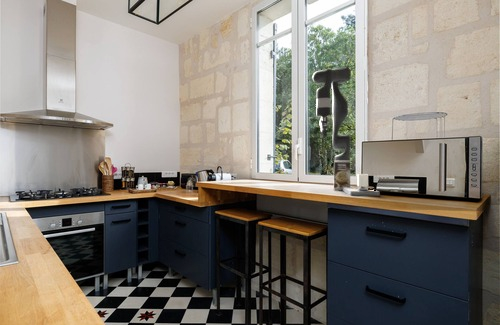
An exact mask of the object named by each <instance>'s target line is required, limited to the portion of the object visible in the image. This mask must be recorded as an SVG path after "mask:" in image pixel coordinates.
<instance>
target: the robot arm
mask: <svg viewBox="0 0 500 325" xmlns="http://www.w3.org/2000/svg"><path fill="white" fill-rule="evenodd" d="M351 76H352V73H351V69H350V68H349V66H340V67H334V68H332V69H330V68H325V69H322V70H317V71H314V73H313V75H312V82H313V83H314V84H315V85H323V86H321V87H319V88H317V89H316V101H315V102H316V104H315V105H316V106H315V107H316V109H315V110H316V114H315V115H316V118H320V119H319V128H320V129H319V130H320V139H326V138H327V137H328V132H327V131H328V128H329V127H328V123H329V119H328V117H331V116H332V140H331V141H332V142H331V143H332V148H333V150H335V151H337V150H338V151H339V150H340V151H342V150H343V151H344V152H342V153H339V154H336V155H335V156H334V162H350V163H351V136H350V135H349V134H342V135H339V131H340V128H341V127H342V125H343V123H344V122H345V120H346V119H347V117H348V113H349V104H348V101H347V99H346V98H345V97H344V95H343V94H342V92H341V90H340V87H339V84H341V83H346V82H349V81H350V80H351ZM331 89H332V102H331ZM331 105H332V106H331ZM331 110H332V111H331Z"/></svg>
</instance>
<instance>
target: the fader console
mask: <svg viewBox="0 0 500 325" xmlns="http://www.w3.org/2000/svg"><path fill="white" fill-rule="evenodd" d="M358 188H359V187H350V188H344V187H343V190H342V191H343V192H344V193H345V194H347V195H349V196H358V197H359V196H363V197H364V196H365V197H367V196H368V197H369V196H370V197H375V196H376V197H379V196H380V191H379V190H376V191H374V190H375V189H373V190H358Z"/></svg>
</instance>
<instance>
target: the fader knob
mask: <svg viewBox="0 0 500 325" xmlns="http://www.w3.org/2000/svg"><path fill="white" fill-rule="evenodd" d="M356 178H357V180H356V182H357V184H356V186H357V188H358V190H368V188H369V174H368V173H357V174H356Z"/></svg>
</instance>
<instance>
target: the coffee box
mask: <svg viewBox="0 0 500 325" xmlns="http://www.w3.org/2000/svg"><path fill="white" fill-rule="evenodd" d="M343 187H344V188H351V161H350V162H335V161H334V162H333V191H343Z"/></svg>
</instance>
